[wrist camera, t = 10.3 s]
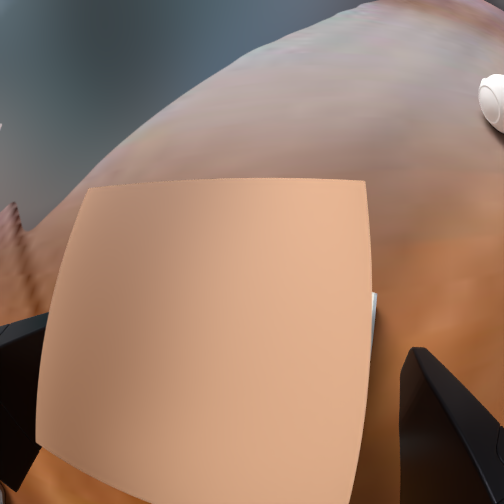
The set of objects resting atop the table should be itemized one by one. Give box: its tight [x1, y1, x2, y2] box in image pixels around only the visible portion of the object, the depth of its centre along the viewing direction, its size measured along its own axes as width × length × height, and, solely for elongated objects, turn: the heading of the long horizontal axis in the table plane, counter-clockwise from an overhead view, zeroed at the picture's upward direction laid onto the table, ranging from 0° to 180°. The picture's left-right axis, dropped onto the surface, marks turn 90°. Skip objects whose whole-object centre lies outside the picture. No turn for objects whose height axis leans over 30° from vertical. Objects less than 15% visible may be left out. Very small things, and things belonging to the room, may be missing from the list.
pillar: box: [36, 178, 372, 504], centre depth 9 cm, size 7×7×12 cm
